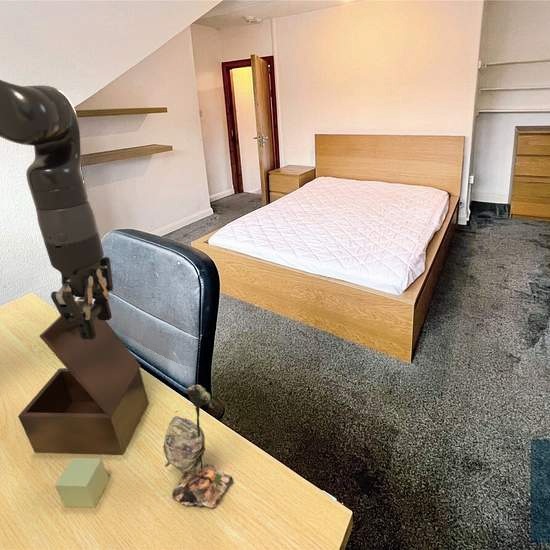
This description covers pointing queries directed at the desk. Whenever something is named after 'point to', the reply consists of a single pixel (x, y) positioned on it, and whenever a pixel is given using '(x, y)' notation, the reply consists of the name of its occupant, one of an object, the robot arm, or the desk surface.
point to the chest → (81, 418)
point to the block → (82, 482)
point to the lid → (94, 358)
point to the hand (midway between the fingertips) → (97, 328)
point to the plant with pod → (193, 457)
